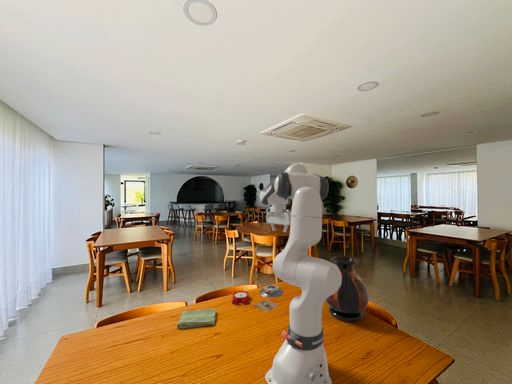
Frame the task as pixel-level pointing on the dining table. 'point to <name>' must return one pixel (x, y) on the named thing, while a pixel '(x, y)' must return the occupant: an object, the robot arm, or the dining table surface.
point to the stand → (266, 305)
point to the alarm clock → (240, 298)
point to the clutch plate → (271, 290)
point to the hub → (271, 295)
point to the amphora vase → (348, 292)
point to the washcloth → (197, 318)
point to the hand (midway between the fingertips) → (279, 231)
